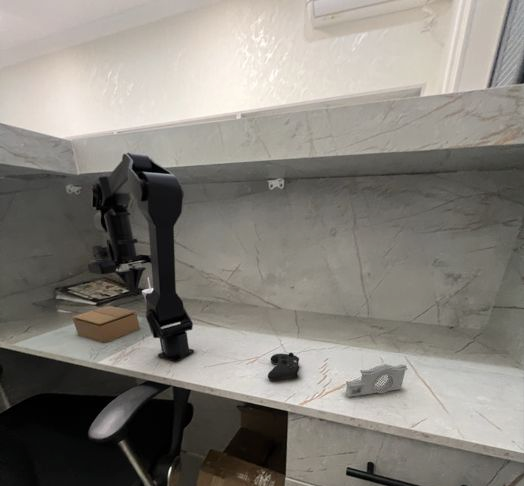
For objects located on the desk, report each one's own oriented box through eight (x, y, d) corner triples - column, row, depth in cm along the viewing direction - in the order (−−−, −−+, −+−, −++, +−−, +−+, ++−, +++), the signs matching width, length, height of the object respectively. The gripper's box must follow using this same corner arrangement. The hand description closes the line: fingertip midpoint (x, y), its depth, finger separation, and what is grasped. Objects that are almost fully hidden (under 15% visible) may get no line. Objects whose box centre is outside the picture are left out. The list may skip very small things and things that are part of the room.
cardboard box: (140, 328, 88) (136, 311, 85) (104, 342, 78) (99, 323, 76) (113, 322, 93) (109, 305, 91) (77, 334, 84) (71, 316, 81)
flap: (118, 318, 81) (118, 317, 80) (99, 324, 76) (99, 323, 76) (91, 312, 86) (91, 311, 86) (72, 317, 82) (72, 316, 82)
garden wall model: (347, 398, 53) (351, 371, 50) (343, 393, 55) (347, 367, 52) (403, 390, 55) (409, 364, 53) (397, 385, 57) (403, 359, 54)
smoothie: (143, 319, 96) (134, 278, 90) (157, 313, 101) (150, 274, 95) (156, 321, 93) (148, 279, 87) (170, 316, 98) (163, 276, 92)
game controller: (269, 357, 67) (287, 341, 65) (284, 371, 68) (302, 356, 66) (265, 378, 58) (286, 361, 56) (283, 394, 60) (304, 378, 57)
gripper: (130, 232, 83) (141, 284, 90) (66, 236, 69) (84, 298, 76) (157, 233, 78) (166, 288, 85) (93, 237, 64) (110, 303, 71)
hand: (133, 294), depth 79 cm, fingers closed
